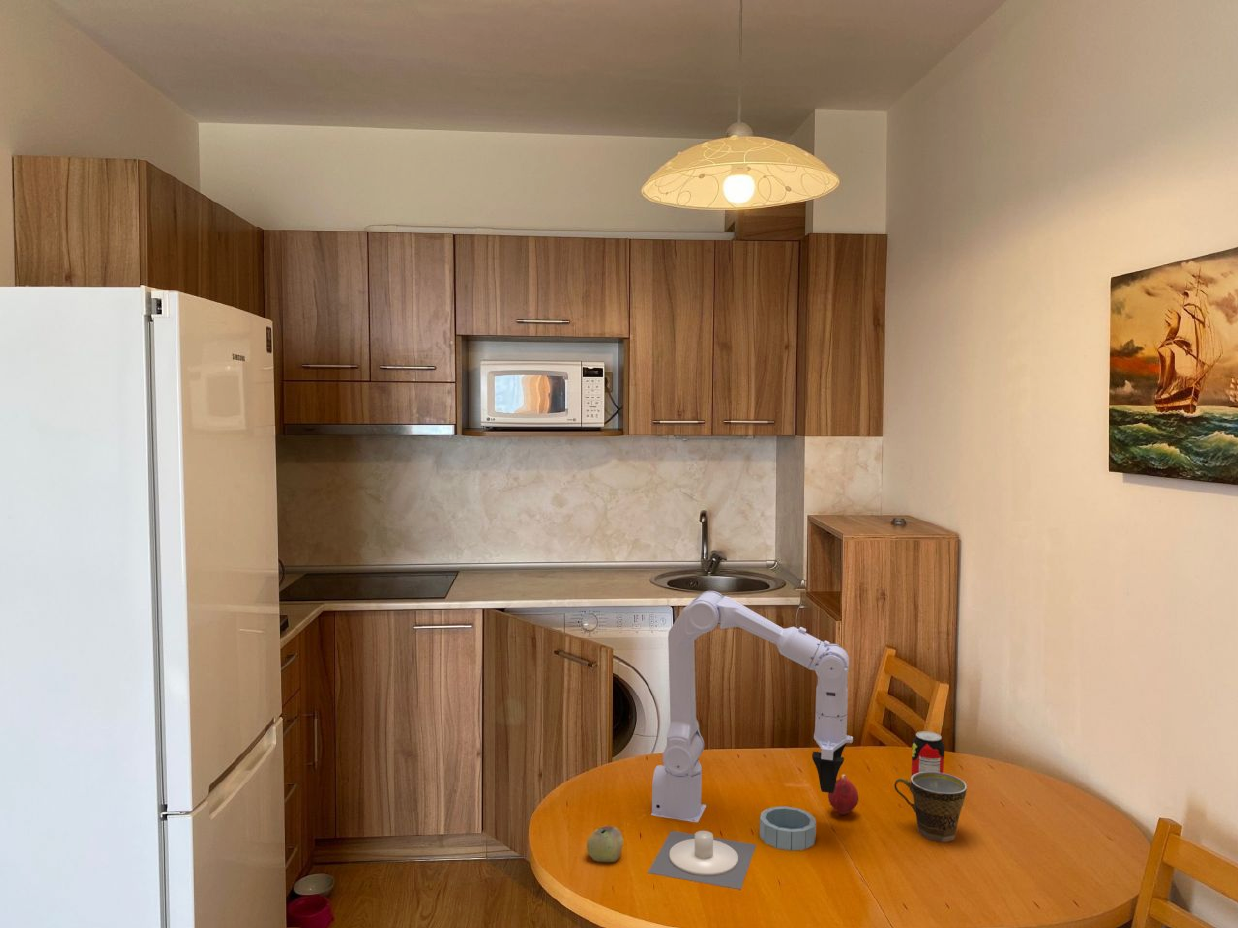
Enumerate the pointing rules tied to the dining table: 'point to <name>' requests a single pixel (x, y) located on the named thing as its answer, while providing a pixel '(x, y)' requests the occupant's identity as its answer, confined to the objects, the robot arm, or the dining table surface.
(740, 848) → the mat
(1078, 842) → the dining table surface
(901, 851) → the dining table surface
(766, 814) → the bowl
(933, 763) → the beverage can
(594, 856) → the apple
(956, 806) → the ceramic cup
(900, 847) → the dining table surface
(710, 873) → the lid
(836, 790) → the onion
